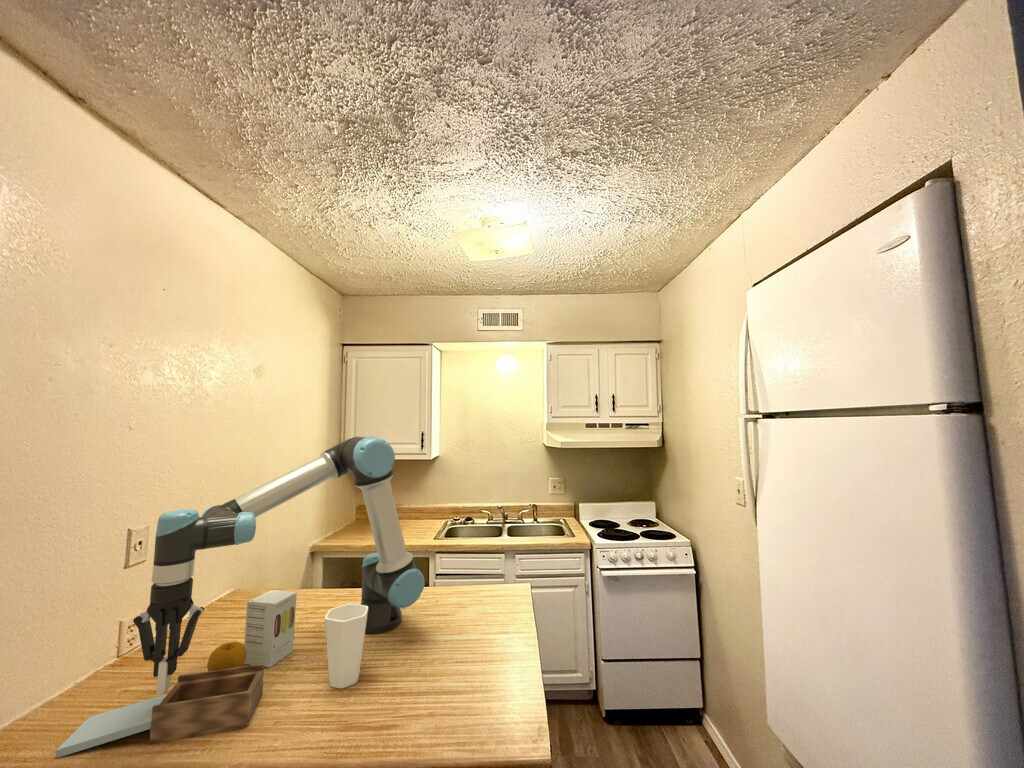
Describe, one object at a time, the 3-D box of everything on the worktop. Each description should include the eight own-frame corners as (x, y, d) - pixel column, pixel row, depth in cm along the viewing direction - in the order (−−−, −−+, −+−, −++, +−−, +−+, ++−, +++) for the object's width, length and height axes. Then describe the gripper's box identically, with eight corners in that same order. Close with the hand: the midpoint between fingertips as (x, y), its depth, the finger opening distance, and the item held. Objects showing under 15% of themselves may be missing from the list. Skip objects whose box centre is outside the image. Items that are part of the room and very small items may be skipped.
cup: (374, 673, 113) (376, 607, 115) (348, 696, 103) (351, 623, 105) (340, 666, 117) (343, 601, 118) (312, 687, 107) (316, 616, 109)
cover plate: (175, 698, 98) (174, 691, 98) (152, 728, 89) (151, 720, 89) (90, 723, 94) (89, 716, 94) (56, 758, 84) (55, 750, 84)
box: (262, 694, 104) (264, 663, 105) (247, 727, 93) (249, 692, 93) (176, 707, 99) (179, 675, 100) (149, 744, 88) (152, 707, 88)
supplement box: (269, 668, 115) (273, 604, 117) (241, 664, 117) (245, 601, 119) (294, 650, 125) (297, 591, 126) (267, 647, 126) (271, 588, 128)
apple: (214, 694, 104) (217, 656, 105) (199, 683, 109) (202, 646, 110) (251, 676, 111) (253, 641, 112) (235, 667, 116) (237, 633, 117)
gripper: (212, 572, 102) (204, 675, 99) (147, 577, 98) (137, 685, 96) (199, 583, 95) (190, 695, 92) (128, 589, 91) (117, 706, 88)
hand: (163, 690), depth 94 cm, fingers closed
